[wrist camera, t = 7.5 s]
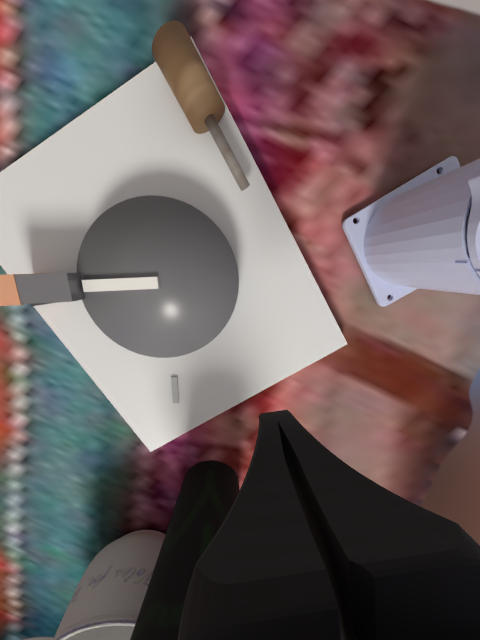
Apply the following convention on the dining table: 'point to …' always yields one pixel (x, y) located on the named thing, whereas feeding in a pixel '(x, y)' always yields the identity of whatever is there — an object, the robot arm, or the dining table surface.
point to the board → (192, 188)
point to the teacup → (112, 589)
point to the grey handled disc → (145, 277)
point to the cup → (185, 547)
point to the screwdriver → (193, 89)
